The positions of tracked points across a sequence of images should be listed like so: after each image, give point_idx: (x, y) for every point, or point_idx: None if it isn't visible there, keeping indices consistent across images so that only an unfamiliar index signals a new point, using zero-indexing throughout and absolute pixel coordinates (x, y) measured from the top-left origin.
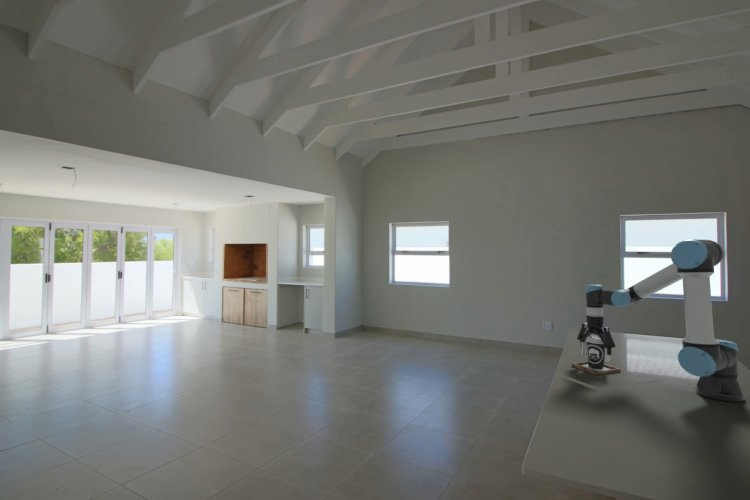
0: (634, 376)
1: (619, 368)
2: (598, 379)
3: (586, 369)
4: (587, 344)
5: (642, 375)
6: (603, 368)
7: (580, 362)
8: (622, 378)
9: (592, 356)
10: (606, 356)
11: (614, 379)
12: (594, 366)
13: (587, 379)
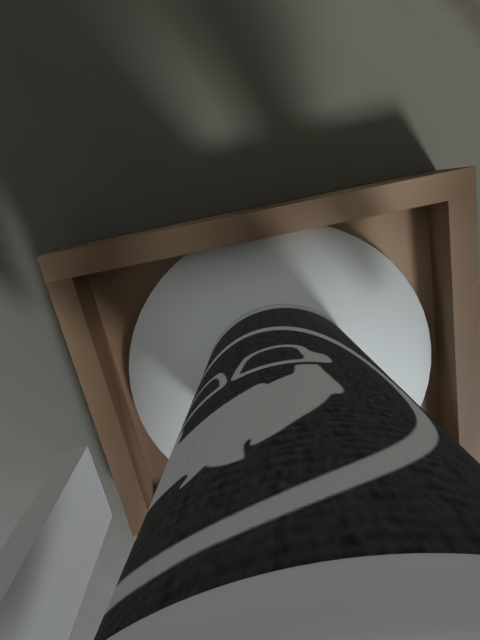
0: None
1: None
2: (10, 200)
3: (228, 216)
4: (458, 490)
5: None
6: None
7: (463, 306)
8: (36, 450)
9: (243, 371)
10: (27, 515)
11: (7, 362)
12: (228, 335)
13: (13, 62)
